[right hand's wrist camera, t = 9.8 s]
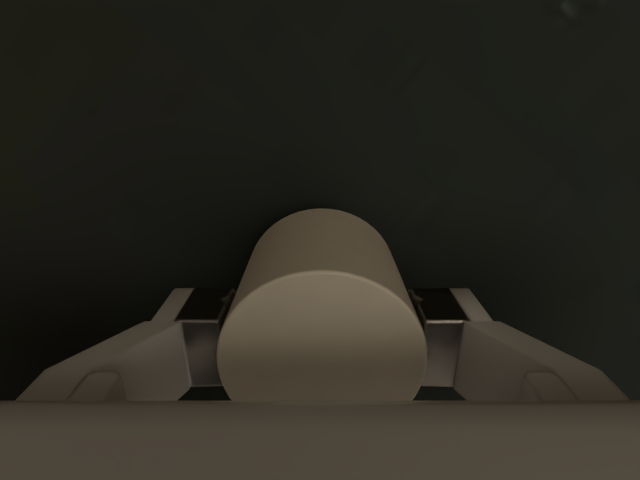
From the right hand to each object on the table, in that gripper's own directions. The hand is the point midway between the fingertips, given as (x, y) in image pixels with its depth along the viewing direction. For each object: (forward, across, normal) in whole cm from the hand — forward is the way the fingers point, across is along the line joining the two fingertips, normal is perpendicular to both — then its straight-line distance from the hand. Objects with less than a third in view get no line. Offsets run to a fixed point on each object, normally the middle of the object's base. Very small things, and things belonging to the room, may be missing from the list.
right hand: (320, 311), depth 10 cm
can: (+2, 0, 0) cm, 2 cm away
